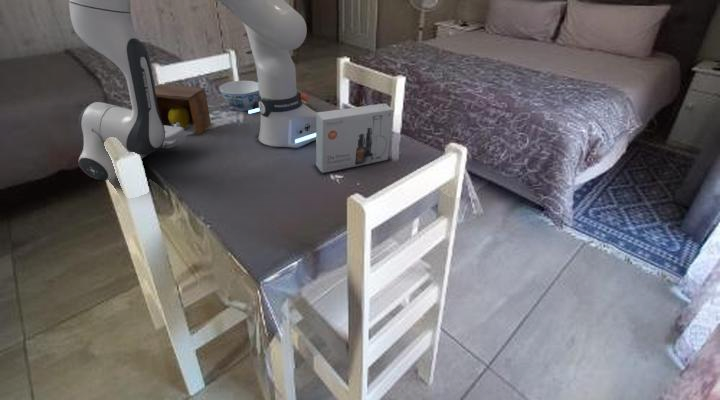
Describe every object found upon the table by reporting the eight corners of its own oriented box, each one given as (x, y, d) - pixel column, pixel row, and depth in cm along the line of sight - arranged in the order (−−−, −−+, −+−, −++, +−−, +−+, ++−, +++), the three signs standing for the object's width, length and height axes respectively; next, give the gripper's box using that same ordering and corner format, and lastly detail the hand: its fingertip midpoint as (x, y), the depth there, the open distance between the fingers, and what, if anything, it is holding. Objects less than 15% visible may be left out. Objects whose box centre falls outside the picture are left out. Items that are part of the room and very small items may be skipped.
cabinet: (169, 120, 133) (160, 83, 126) (211, 124, 131) (204, 87, 125) (153, 131, 125) (142, 92, 118) (197, 135, 124) (189, 97, 117)
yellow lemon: (182, 134, 124) (176, 109, 120) (166, 130, 126) (160, 106, 122) (196, 127, 129) (192, 103, 125) (181, 123, 131) (176, 100, 127)
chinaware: (272, 106, 148) (270, 85, 144) (243, 118, 137) (240, 96, 133) (243, 98, 154) (241, 78, 150) (213, 108, 143) (209, 87, 139)
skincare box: (323, 174, 106) (322, 119, 97) (315, 166, 110) (314, 111, 101) (389, 160, 115) (394, 108, 106) (380, 152, 119) (384, 101, 110)
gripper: (167, 135, 103) (193, 116, 115) (96, 128, 106) (128, 110, 117) (172, 156, 107) (197, 136, 118) (103, 149, 109) (134, 129, 120)
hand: (163, 123), depth 118 cm, fingers open, 8 cm apart
